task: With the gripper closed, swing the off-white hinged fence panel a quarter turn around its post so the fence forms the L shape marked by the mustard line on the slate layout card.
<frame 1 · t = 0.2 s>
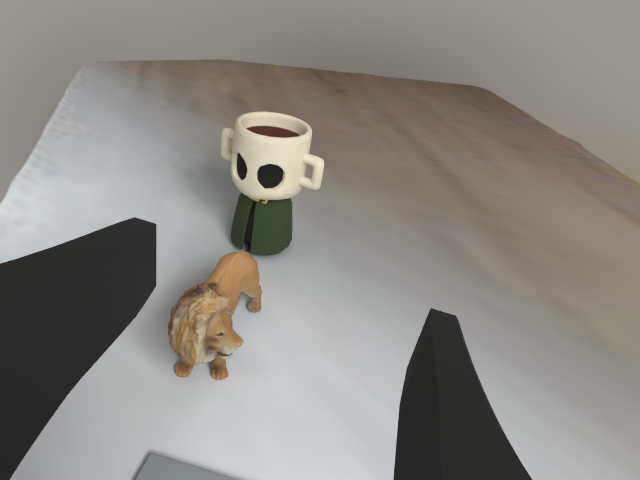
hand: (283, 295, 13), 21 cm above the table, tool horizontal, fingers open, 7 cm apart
lion figurine: (221, 351, 40), on the table
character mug: (260, 244, 53), on the table
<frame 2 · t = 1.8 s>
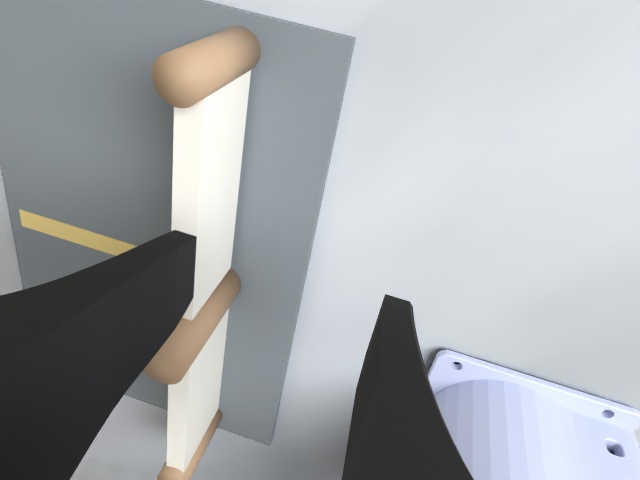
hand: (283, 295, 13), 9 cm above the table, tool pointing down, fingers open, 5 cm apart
fixed fence panel: (225, 276, 26), resting on layout card
hinged fence panel: (204, 185, 19), point 3 cm above the table, hinge at 0.0°
layout card: (152, 245, 26), on the table
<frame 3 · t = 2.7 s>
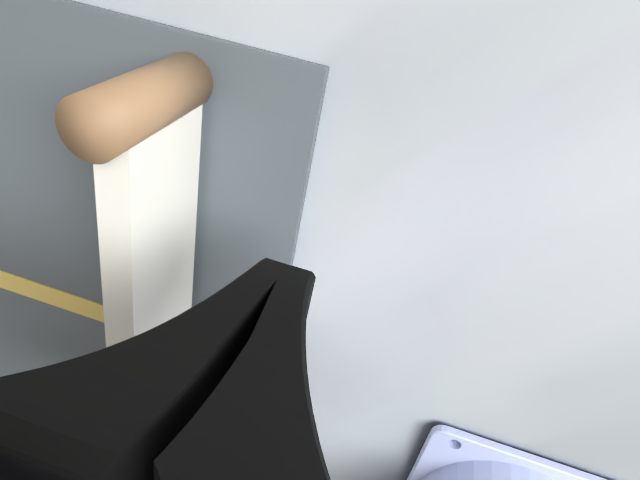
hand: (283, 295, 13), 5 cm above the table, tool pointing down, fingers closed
hinged fence panel: (146, 245, 16), point 3 cm above the table, hinge at 0.0°
layout card: (103, 297, 22), on the table
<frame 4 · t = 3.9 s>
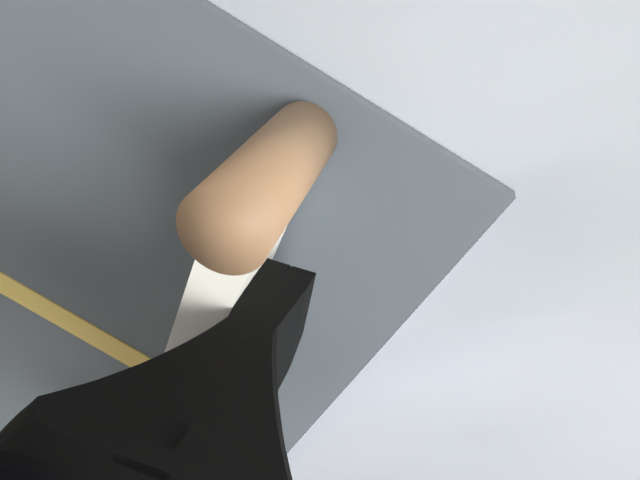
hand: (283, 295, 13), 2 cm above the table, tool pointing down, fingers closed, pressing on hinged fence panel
hinged fence panel: (212, 325, 13), point 3 cm above the table, hinge at 5.3°, touching gripper
layout card: (111, 324, 19), on the table
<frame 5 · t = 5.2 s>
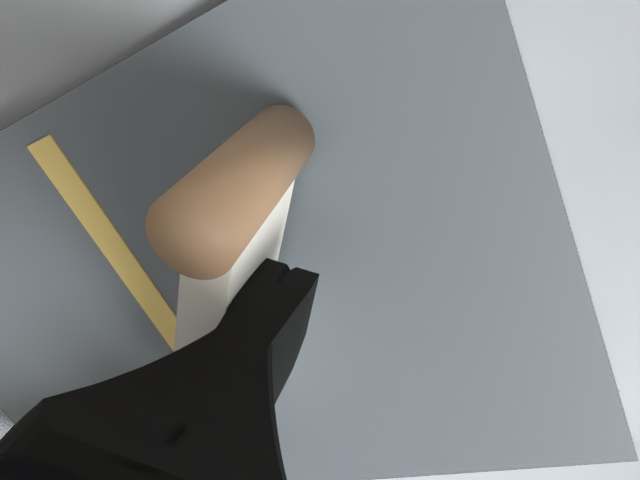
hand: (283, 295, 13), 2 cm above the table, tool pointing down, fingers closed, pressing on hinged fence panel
hinged fence panel: (221, 339, 13), point 3 cm above the table, hinge at 51.3°, touching gripper
layout card: (191, 323, 17), on the table
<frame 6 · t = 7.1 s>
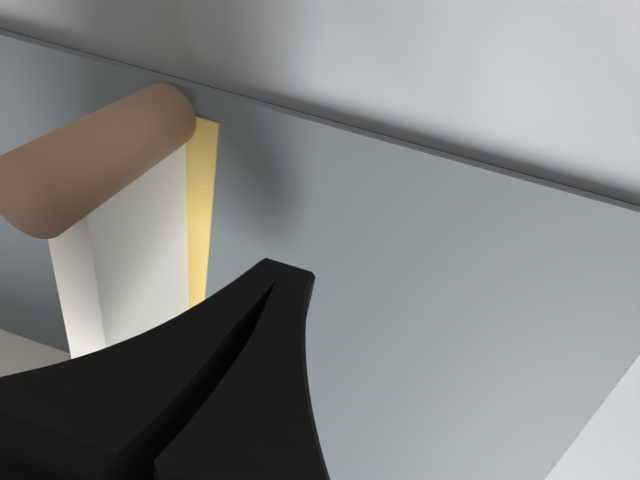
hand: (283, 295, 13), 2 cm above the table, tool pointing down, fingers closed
fixed fence panel: (189, 394, 19), resting on layout card
hinged fence panel: (127, 314, 13), point 3 cm above the table, hinge at 93.8°
layout card: (207, 322, 17), on the table
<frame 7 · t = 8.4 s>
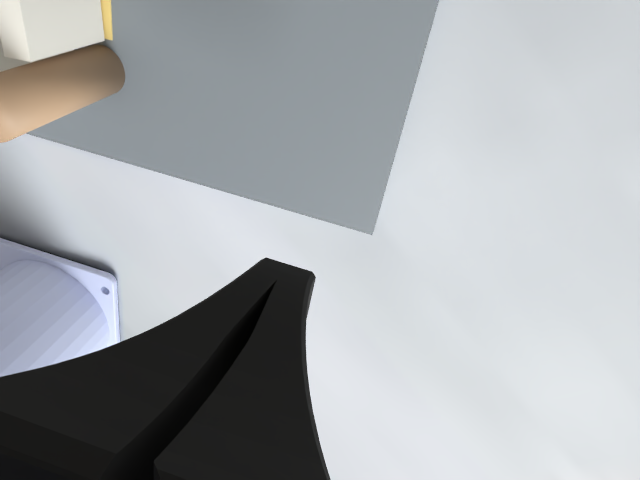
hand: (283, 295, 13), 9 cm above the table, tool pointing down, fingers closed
fixed fence panel: (109, 67, 21), resting on layout card
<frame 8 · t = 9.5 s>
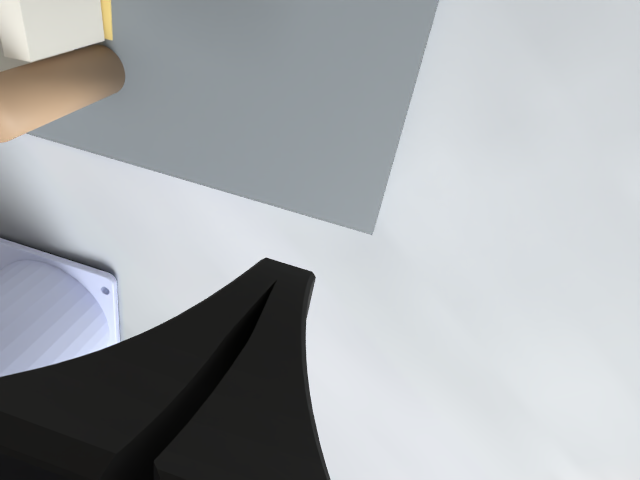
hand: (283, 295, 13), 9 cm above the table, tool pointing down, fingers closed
fixed fence panel: (109, 67, 21), resting on layout card
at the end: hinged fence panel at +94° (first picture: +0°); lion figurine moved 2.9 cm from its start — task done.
